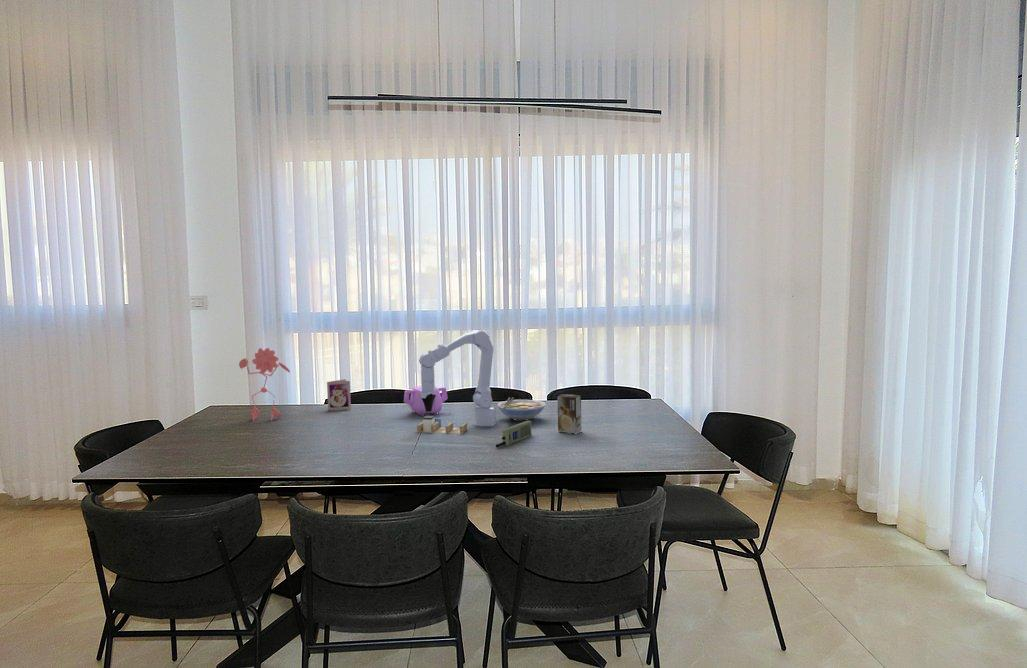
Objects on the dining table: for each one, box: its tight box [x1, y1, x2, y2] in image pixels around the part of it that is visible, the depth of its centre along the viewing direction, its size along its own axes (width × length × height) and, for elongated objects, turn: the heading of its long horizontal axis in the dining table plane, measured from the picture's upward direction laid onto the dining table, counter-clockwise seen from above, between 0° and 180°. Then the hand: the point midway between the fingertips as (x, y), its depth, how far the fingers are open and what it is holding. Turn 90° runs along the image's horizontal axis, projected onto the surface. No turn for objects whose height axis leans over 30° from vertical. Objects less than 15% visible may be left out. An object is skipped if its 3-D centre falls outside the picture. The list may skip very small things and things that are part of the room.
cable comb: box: [416, 417, 469, 435], centre depth 283 cm, size 20×11×5 cm, turn 80°
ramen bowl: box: [497, 396, 546, 421], centre depth 307 cm, size 25×23×8 cm
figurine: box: [238, 347, 291, 422], centre depth 315 cm, size 15×26×35 cm, turn 86°
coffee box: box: [556, 393, 583, 434], centre depth 280 cm, size 9×6×16 cm
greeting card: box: [326, 378, 352, 412], centre depth 337 cm, size 11×7×15 cm, turn 104°
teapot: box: [403, 386, 449, 416], centre depth 323 cm, size 19×18×15 cm
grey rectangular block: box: [422, 415, 436, 431], centre depth 283 cm, size 4×4×6 cm
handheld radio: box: [495, 420, 532, 449], centre depth 266 cm, size 7×3×25 cm
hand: (428, 411), depth 283 cm, fingers closed
